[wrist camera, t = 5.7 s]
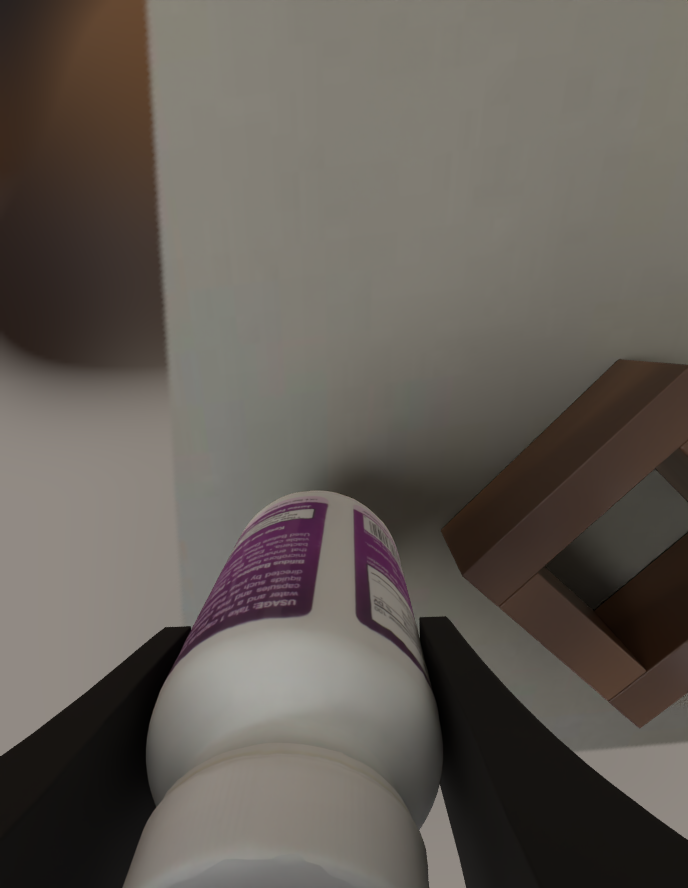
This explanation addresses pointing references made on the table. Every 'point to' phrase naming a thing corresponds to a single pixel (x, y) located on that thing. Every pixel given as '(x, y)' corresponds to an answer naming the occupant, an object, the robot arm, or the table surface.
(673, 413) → the frame
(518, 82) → the table surface
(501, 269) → the table surface
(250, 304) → the table surface
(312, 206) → the table surface
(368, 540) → the pill bottle
